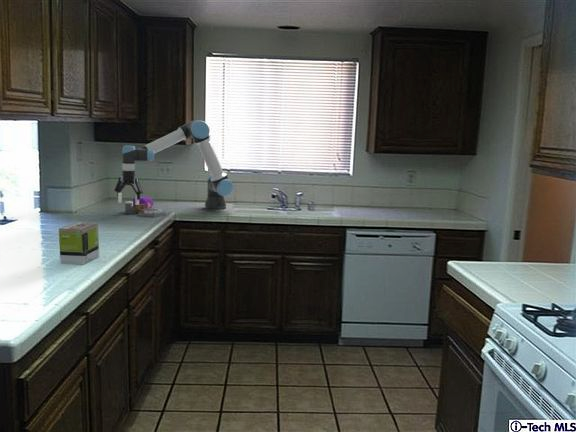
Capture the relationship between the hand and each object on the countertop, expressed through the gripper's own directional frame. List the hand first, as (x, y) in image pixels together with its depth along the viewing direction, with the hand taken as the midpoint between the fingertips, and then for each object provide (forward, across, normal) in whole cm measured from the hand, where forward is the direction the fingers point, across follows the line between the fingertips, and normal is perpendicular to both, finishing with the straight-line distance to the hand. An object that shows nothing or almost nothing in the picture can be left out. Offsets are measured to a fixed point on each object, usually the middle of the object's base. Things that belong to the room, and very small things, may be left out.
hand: (128, 203), depth 345 cm
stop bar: (+7, 0, -7) cm, 10 cm away
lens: (+7, 0, 0) cm, 7 cm away
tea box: (+8, -62, +108) cm, 125 cm away
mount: (+7, -14, -5) cm, 17 cm away
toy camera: (+7, 0, -15) cm, 16 cm away
